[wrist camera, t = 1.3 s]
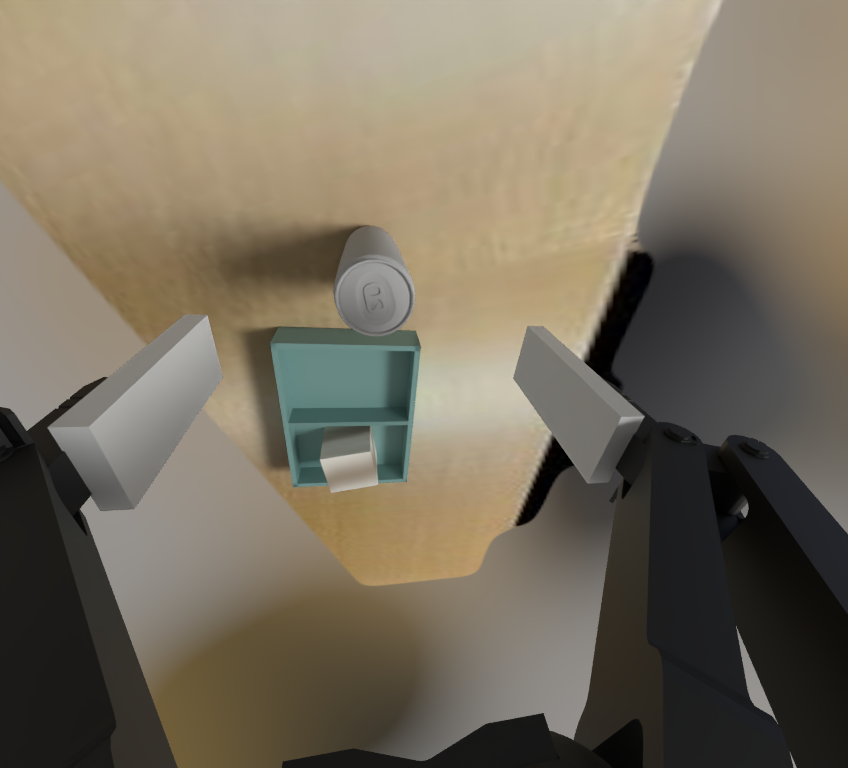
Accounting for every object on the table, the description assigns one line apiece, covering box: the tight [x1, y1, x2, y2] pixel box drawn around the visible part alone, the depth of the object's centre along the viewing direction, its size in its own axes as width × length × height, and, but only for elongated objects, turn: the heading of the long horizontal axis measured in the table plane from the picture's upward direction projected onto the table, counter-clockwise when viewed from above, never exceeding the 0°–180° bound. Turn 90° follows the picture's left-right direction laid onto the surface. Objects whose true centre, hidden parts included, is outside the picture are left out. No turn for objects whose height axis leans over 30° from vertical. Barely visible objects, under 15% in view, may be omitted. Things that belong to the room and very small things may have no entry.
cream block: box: [320, 426, 378, 493], centre depth 37 cm, size 5×5×5 cm
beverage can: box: [333, 226, 415, 336], centre depth 24 cm, size 5×5×12 cm
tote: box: [270, 327, 421, 487], centre depth 36 cm, size 18×13×4 cm
